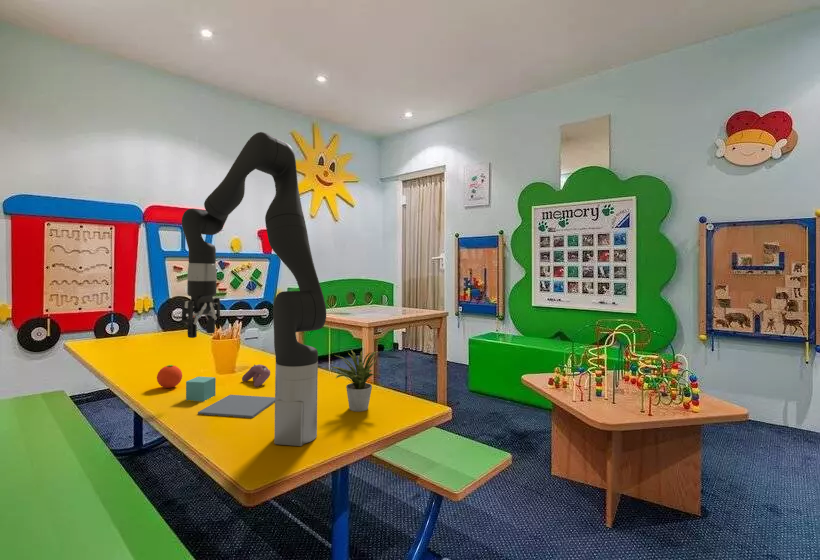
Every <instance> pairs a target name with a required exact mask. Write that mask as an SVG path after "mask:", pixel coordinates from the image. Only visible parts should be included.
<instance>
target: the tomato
mask: <svg viewBox="0 0 820 560" xmlns="http://www.w3.org/2000/svg"><path fill="white" fill-rule="evenodd" d="M182 379H183V372H182V370H181V369H180V367H178V366H176V365H173V364H169V365H165V366H164V367H162V368H160V370H159V371H158V372H157V374H156V381H157V383H158V384H159V386H160V387H162V388H166V389H172V388H174V387H176V386H178V385H179V384H180V383H181V381H182Z"/></svg>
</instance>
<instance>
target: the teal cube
mask: <svg viewBox="0 0 820 560" xmlns="http://www.w3.org/2000/svg"><path fill="white" fill-rule="evenodd" d="M216 382H217V381H216V377H213V376H196V377H194V378H192V379H189V380H187V381H185V401H188V400H191V401H192V400H193V401H192V402H205V400H206V401H208V400H209V398H210V399H212V398H214V397H216ZM213 396H214V397H213ZM211 397H212V398H211ZM207 399H208V400H207ZM191 401H190V402H191Z"/></svg>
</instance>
